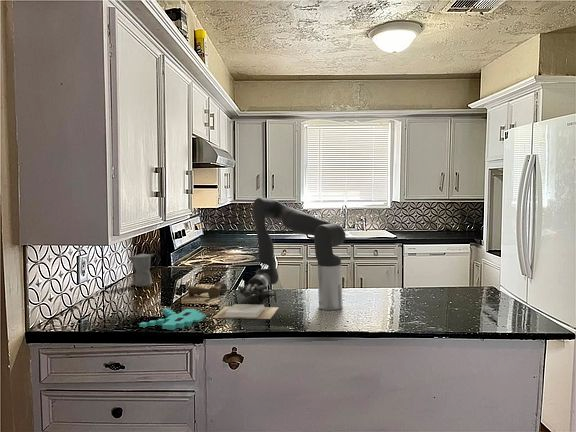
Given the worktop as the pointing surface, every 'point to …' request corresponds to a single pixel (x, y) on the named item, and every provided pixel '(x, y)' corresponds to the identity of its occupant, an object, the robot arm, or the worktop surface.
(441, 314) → the worktop surface
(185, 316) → the alien figure
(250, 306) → the tile
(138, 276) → the coffeepot
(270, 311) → the tan flat rectangular board
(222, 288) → the kendama
